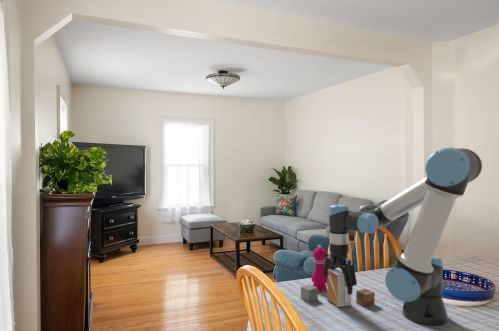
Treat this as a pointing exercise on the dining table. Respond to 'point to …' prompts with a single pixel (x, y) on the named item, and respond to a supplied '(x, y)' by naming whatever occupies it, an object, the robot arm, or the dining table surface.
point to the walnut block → (365, 297)
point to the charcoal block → (309, 293)
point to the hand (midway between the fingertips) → (339, 297)
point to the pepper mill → (319, 269)
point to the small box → (337, 287)
